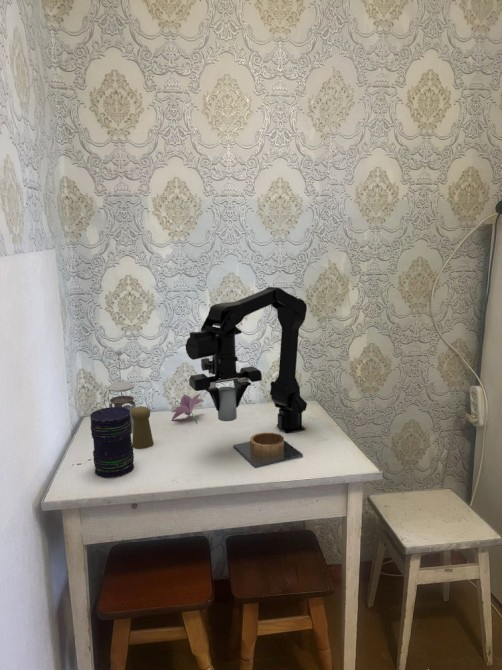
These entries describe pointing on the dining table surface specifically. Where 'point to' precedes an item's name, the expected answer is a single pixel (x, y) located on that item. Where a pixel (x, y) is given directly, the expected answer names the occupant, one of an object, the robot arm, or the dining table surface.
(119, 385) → the french press
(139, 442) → the cork
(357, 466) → the dining table surface
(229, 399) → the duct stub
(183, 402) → the lily
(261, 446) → the duct collar
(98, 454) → the storage jar
